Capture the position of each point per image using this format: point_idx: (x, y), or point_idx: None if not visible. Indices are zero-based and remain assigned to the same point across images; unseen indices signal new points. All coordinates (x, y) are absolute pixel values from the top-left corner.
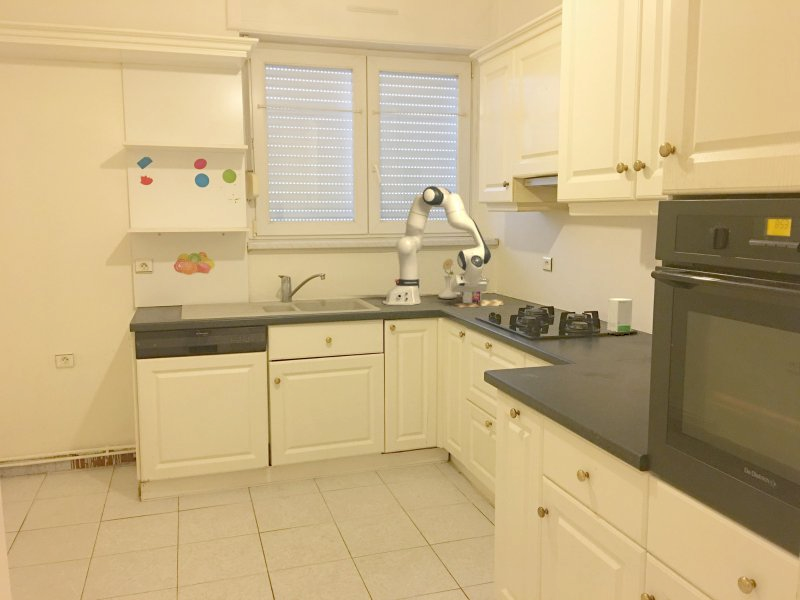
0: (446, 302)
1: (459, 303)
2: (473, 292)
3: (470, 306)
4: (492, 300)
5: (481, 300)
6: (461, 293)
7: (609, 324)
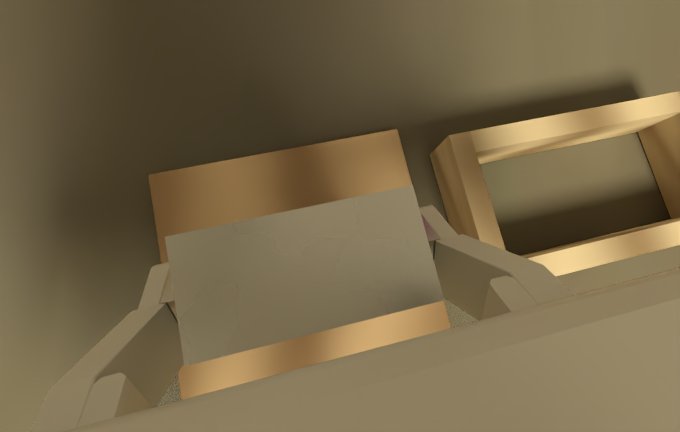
0: (75, 16)
1: (217, 166)
2: (440, 271)
3: None
4: (618, 125)
5: (494, 149)
6: (169, 375)
7: None
